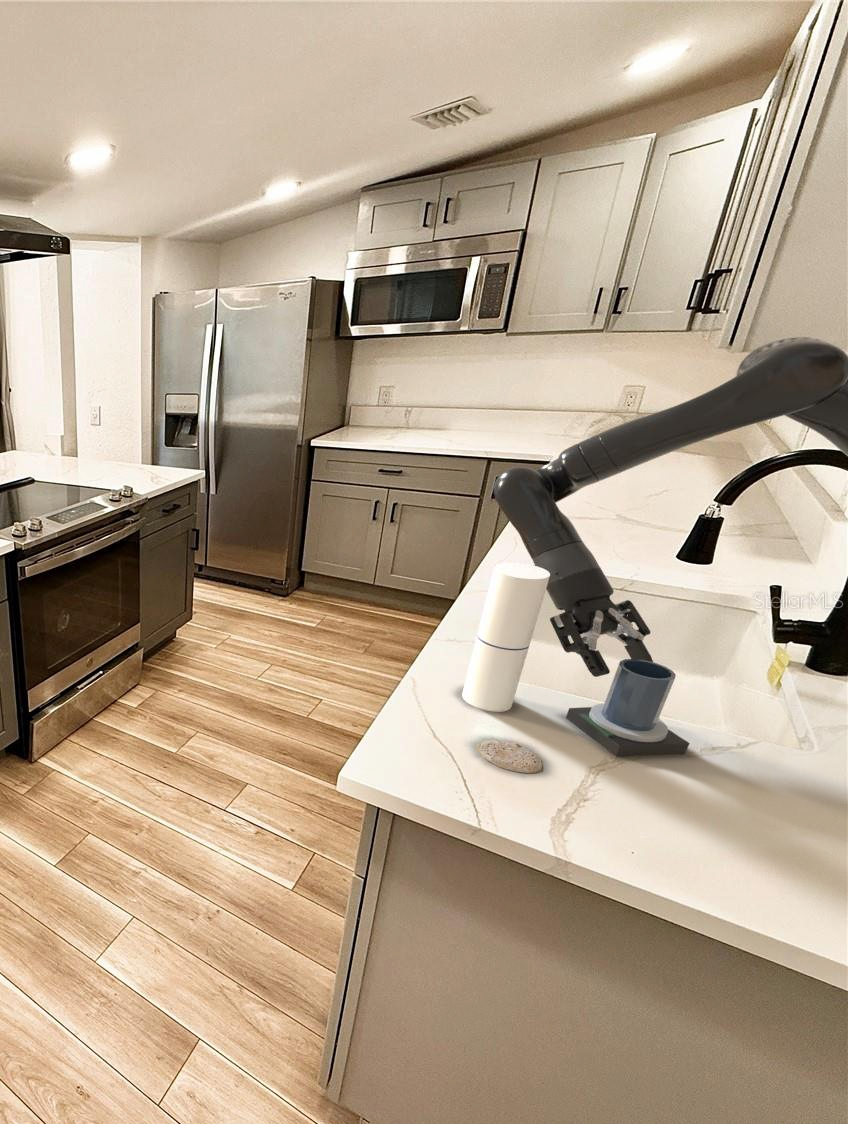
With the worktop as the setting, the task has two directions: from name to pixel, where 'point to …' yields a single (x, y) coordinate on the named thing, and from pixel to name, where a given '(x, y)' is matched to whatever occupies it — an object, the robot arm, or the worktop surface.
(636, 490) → the worktop surface
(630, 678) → the tumbler
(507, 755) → the flatbread
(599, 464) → the robot arm
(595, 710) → the scale
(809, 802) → the worktop surface
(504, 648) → the cylindrical container
